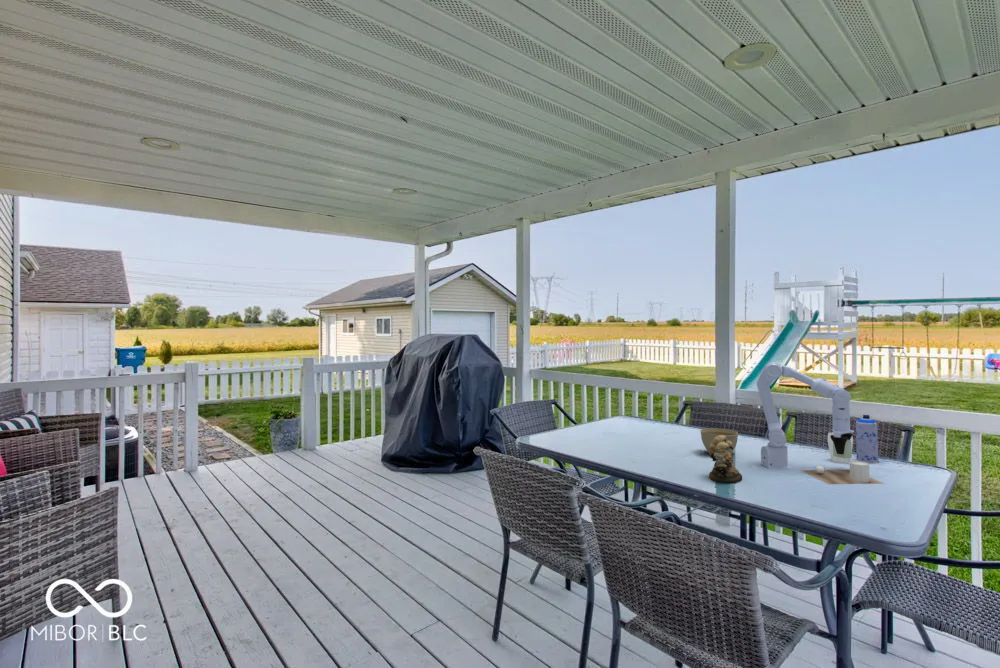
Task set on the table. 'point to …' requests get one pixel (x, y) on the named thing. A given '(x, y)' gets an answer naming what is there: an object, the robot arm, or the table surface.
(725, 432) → the planter bowl
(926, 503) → the table surface
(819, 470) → the white marble
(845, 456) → the sage green acorn nut
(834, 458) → the cup
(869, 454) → the aerosol can
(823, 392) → the robot arm
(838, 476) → the walnut board
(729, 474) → the owl figurine
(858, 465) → the white acorn nut
